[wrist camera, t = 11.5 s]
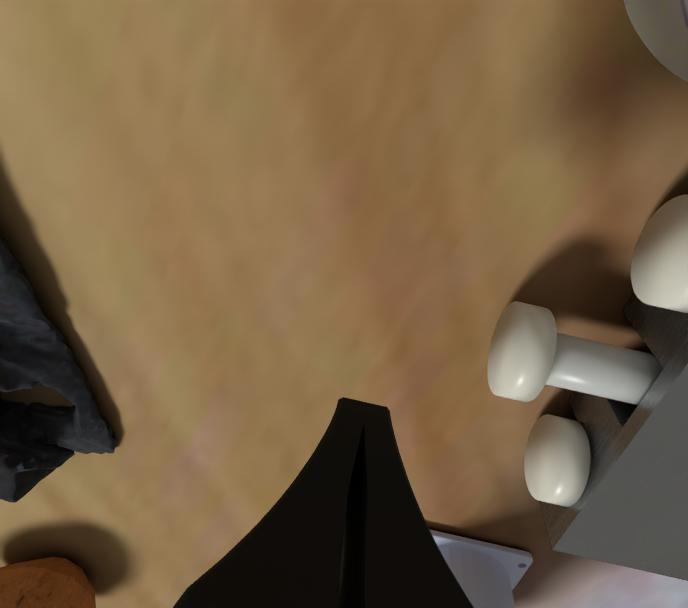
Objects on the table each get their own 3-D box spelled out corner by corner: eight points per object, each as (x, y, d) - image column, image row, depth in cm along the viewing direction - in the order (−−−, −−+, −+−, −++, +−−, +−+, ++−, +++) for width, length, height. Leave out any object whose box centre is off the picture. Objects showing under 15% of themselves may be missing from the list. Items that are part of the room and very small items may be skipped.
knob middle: (652, 394, 23) (694, 460, 19) (482, 356, 23) (495, 415, 19) (700, 326, 21) (758, 387, 17) (513, 284, 21) (534, 337, 17)
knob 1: (669, 486, 26) (709, 558, 22) (518, 452, 26) (535, 518, 22) (713, 434, 23) (764, 505, 20) (549, 397, 23) (572, 462, 20)
